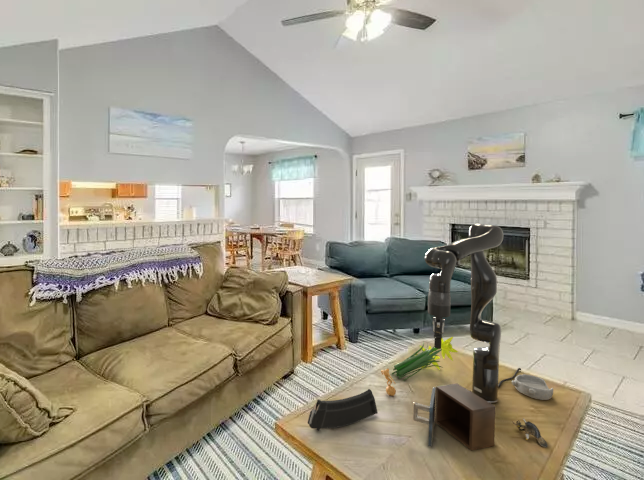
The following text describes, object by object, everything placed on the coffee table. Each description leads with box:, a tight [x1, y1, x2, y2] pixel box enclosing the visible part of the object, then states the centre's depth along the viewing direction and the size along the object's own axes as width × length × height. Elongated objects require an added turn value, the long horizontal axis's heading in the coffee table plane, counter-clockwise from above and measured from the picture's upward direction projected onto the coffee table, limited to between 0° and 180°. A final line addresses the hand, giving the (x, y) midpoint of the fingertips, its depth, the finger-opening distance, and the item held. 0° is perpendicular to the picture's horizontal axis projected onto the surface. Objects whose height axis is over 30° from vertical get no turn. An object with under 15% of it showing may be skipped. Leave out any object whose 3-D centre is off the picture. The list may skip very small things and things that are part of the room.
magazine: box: [307, 388, 379, 432], centre depth 142 cm, size 17×3×30 cm
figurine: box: [380, 368, 397, 397], centre depth 161 cm, size 8×6×12 cm
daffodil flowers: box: [391, 336, 459, 381], centre depth 182 cm, size 17×15×35 cm
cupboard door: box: [412, 386, 436, 448], centre depth 137 cm, size 6×16×14 cm, turn 148°
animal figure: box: [511, 418, 549, 448], centre depth 134 cm, size 8×7×9 cm
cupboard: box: [435, 382, 497, 451], centre depth 136 cm, size 10×16×14 cm, turn 15°
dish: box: [510, 373, 554, 401], centre depth 165 cm, size 14×14×5 cm
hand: (437, 344), depth 143 cm, fingers open, 8 cm apart
